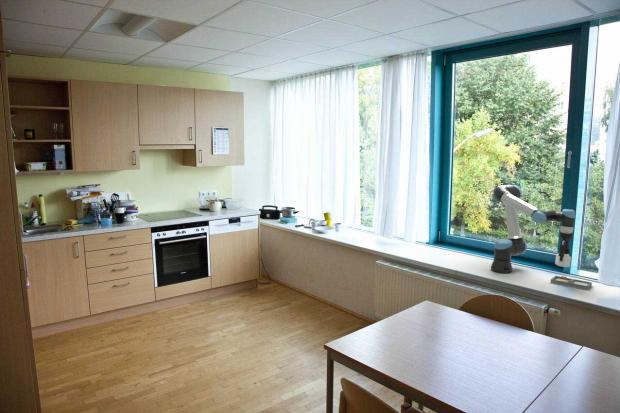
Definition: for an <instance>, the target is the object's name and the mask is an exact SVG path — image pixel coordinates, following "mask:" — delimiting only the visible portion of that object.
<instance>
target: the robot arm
mask: <svg viewBox="0 0 620 413" xmlns="http://www.w3.org/2000/svg"><path fill="white" fill-rule="evenodd" d="M492 195H493V197H494V199H495V200H496V201H498V202H499V203H501V204H503V205H504V210H505V217H506V219H505V220H506V227H507V228H506V230H507V237H505V238H500V239H497V240H495V241H494V250H493V251H494V253H493V260H492V263H491V266H490V271H492V272H495V273H499V274H512V273H513V271H514V270H513V265H512V261H511V260H512V257H514V256H521V255H522V254H525V253H526V252H527V249H528V244H527V242H526V240H525V239H524V237H523V236H522V235H521V231H520V230H521V228H520V220H519V212H521V213H522V214H525V215H526V216H528V217H530V218H531V219H532V221H533V222H534V223H538V224H543V223H549V222H550V223H551V222H556V223H560V228H559V238H561V239H562V240H561V241H560V247H559V249H560V251H559V250H558V254H559V255H558V256H559V264H558V265H560V266H559V267H562V266H563V263H564V253H565V249H566V248H567V249H569V250H570V240H572V239H573V234H574V233H573V232H574V230H575V228H574V225H575V218H576V211H575V210H574V209H569V208H568V209H567V208H564V209H562V211H559V210H555V209H554V210H553V209H546V210H541V209H540V208H537V207H536V206H534V205H533V204H530V203H528V202H527V201H525V200H523V199H521V197H522V189H521V188H520V186H518V185H515V184H501V185H498V186H496V187H495V188H494V190H493V194H492ZM558 265H557V266H558Z"/></svg>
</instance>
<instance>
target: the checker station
mask: <svg viewBox="0 0 620 413" xmlns="http://www.w3.org/2000/svg"><path fill="white" fill-rule="evenodd" d="M550 284H554V285H559V286H565V287H569V288H574V289H580V290H584V291H589V289H591V288H592V287H593V286H592V285H593V282H592V281H587V280H581V279H576V278H569V277H567V275H561V276H559V275H554V276H553V277H552V278H550Z"/></svg>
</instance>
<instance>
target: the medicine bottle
mask: <svg viewBox="0 0 620 413" xmlns="http://www.w3.org/2000/svg"><path fill="white" fill-rule="evenodd" d="M559 251H560V248H559V250H558V252H559ZM570 251H571V250H570V248H569V249H567V248H566V249H565V253H564V263H563V266H560V265H558V264H559V256H558V255H559V253H555V263H554V264H555V265H556V266H558V267H563V268H570V267H571V262H572V257H571V256H570V253H571V252H570Z"/></svg>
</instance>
